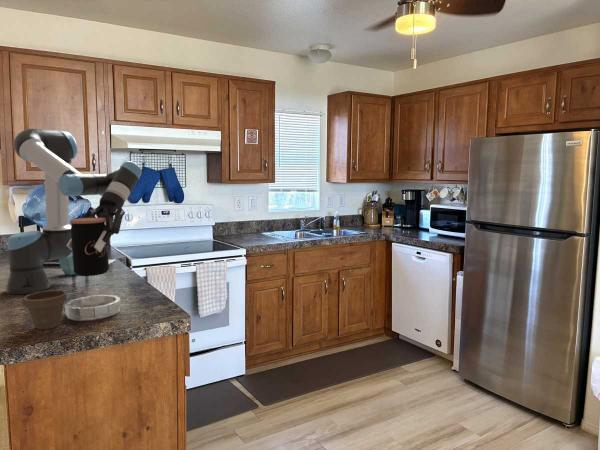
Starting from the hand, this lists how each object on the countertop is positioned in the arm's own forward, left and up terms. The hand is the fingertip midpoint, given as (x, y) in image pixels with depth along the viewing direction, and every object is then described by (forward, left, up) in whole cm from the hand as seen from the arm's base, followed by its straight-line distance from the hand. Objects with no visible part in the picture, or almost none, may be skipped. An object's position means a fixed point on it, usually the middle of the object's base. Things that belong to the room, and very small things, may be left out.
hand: (83, 248), depth 150 cm
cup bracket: (0, +3, -22) cm, 22 cm away
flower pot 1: (-4, -13, -22) cm, 26 cm away
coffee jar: (0, +3, -9) cm, 9 cm away
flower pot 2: (-56, +49, -22) cm, 78 cm away
